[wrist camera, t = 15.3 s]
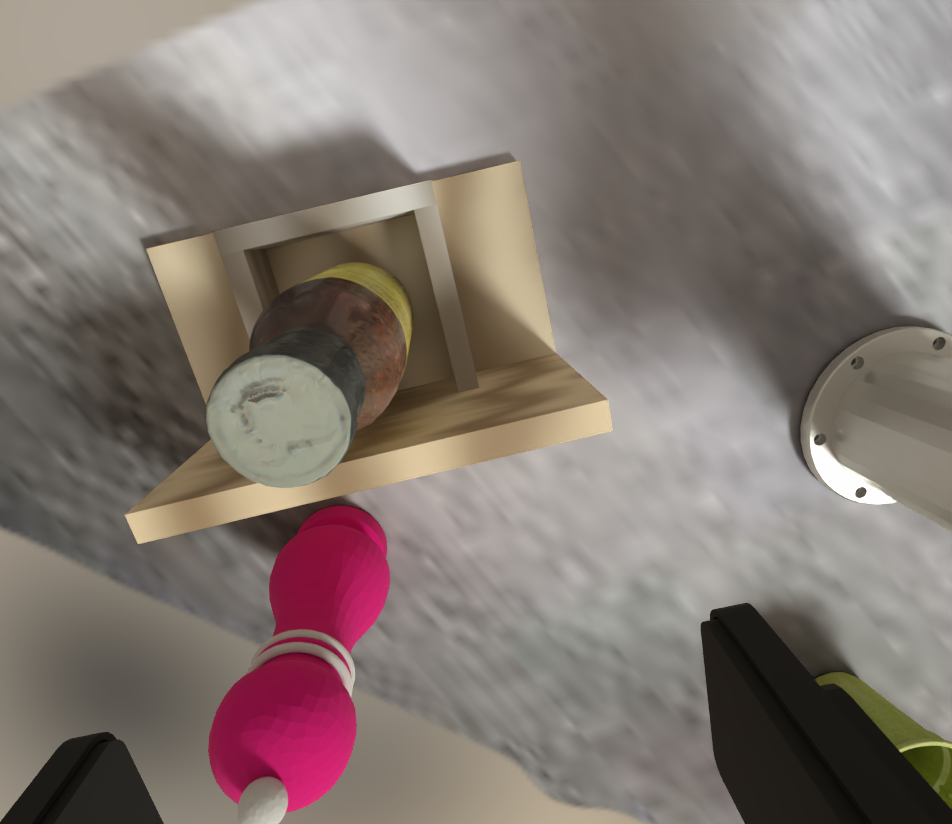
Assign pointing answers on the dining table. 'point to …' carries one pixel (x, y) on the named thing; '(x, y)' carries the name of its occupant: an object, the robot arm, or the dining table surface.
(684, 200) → the dining table surface
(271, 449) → the sauce bottle
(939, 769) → the plant pot
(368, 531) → the pepper mill
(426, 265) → the condiment rack
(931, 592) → the dining table surface
